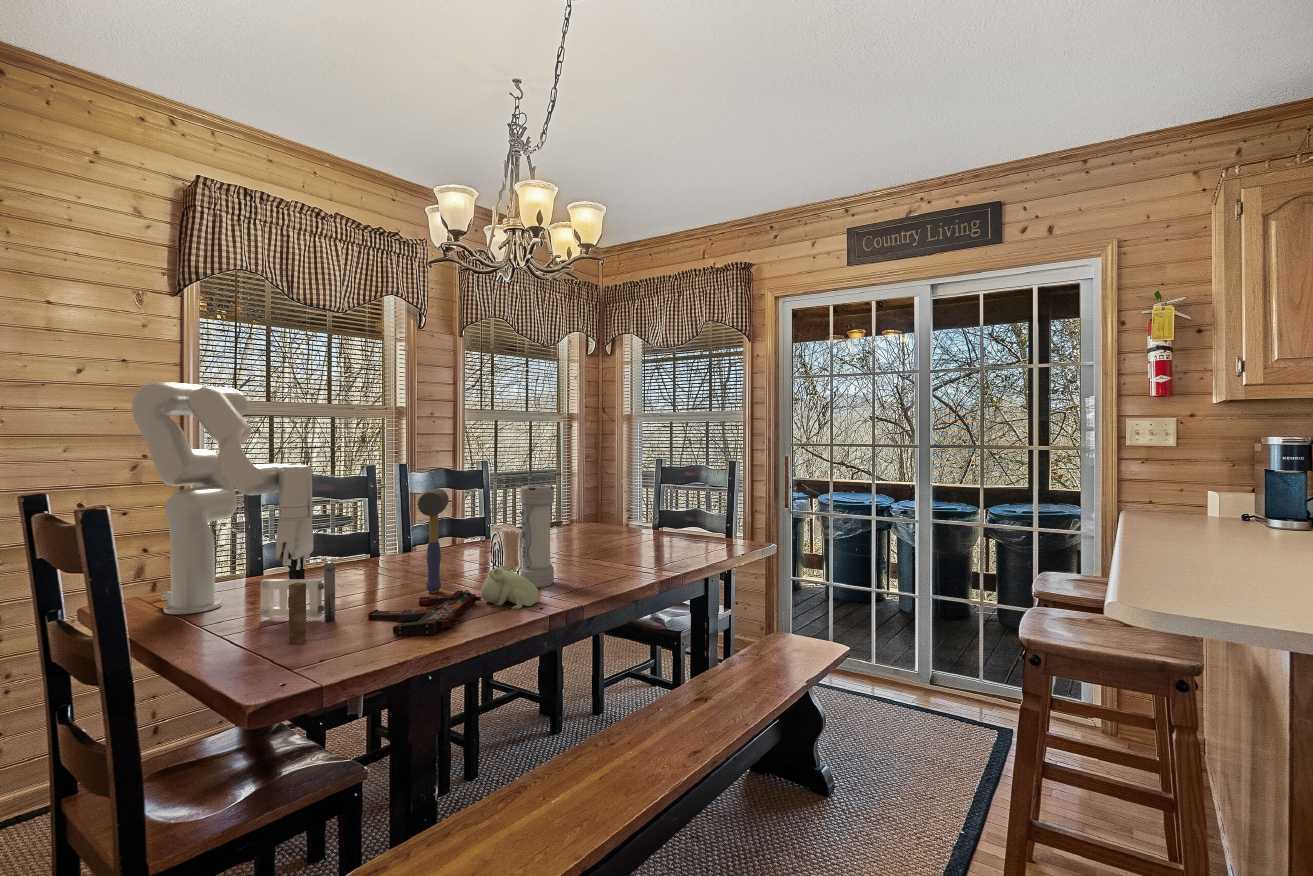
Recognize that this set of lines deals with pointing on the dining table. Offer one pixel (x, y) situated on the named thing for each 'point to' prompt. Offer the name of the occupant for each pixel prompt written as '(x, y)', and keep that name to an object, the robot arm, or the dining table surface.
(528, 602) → the figurine
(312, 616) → the gate
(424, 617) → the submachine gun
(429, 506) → the rubber mallet
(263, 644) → the dining table surface
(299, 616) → the post
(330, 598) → the hinge post
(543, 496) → the canister
